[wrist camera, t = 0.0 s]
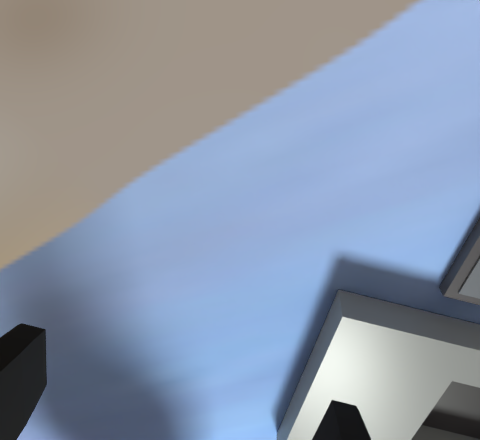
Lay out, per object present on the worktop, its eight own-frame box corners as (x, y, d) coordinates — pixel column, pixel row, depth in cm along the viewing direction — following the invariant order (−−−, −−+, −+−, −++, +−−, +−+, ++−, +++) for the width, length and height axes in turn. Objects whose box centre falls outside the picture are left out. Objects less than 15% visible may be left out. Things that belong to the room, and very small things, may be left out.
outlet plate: (519, 492, 27) (536, 529, 25) (276, 433, 26) (275, 466, 25) (649, 366, 21) (683, 402, 19) (338, 289, 21) (342, 318, 19)
